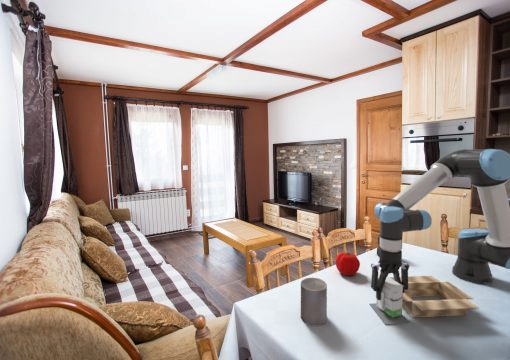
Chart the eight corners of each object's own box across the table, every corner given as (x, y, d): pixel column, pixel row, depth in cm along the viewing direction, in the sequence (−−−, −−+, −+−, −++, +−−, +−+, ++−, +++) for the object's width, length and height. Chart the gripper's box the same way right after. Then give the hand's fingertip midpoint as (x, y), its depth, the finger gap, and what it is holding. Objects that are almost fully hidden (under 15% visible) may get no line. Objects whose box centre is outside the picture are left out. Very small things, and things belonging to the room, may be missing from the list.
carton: (437, 288, 121) (438, 275, 120) (486, 323, 97) (487, 307, 96) (379, 290, 120) (379, 277, 120) (413, 326, 96) (413, 310, 95)
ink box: (403, 315, 100) (404, 285, 99) (391, 318, 99) (392, 287, 97) (386, 303, 108) (386, 274, 107) (375, 305, 107) (376, 276, 106)
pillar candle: (299, 310, 107) (298, 274, 106) (323, 309, 107) (323, 274, 105) (302, 326, 98) (302, 287, 96) (329, 326, 97) (330, 287, 96)
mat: (391, 303, 110) (391, 302, 110) (410, 324, 97) (410, 322, 97) (369, 304, 110) (369, 303, 110) (385, 325, 97) (385, 324, 97)
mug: (390, 262, 149) (391, 242, 148) (373, 255, 160) (373, 235, 159) (401, 259, 153) (402, 239, 152) (383, 252, 164) (384, 233, 162)
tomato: (331, 274, 137) (331, 253, 136) (340, 266, 146) (340, 246, 145) (354, 281, 130) (355, 258, 128) (363, 272, 138) (363, 251, 137)
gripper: (409, 244, 105) (407, 300, 107) (361, 245, 104) (360, 302, 107) (421, 251, 97) (419, 311, 100) (370, 253, 97) (369, 314, 99)
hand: (388, 306), depth 103 cm, fingers closed on ink box, 6 cm apart
